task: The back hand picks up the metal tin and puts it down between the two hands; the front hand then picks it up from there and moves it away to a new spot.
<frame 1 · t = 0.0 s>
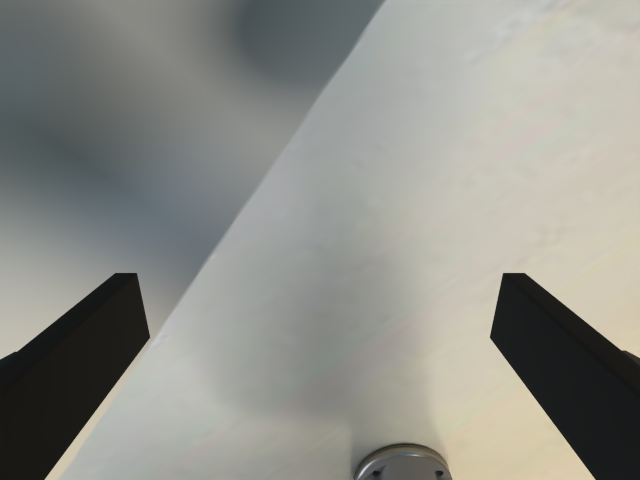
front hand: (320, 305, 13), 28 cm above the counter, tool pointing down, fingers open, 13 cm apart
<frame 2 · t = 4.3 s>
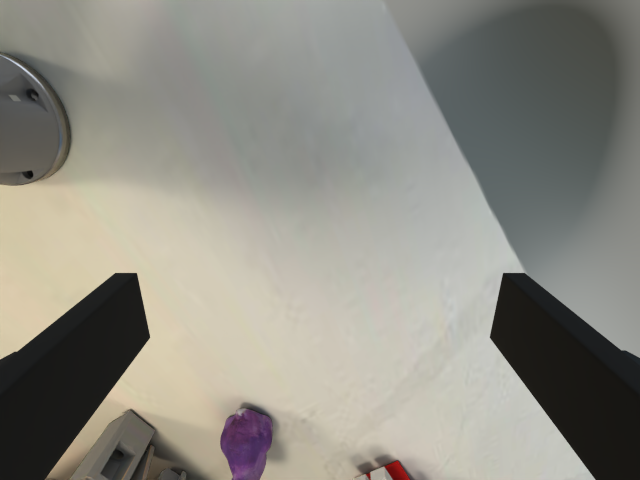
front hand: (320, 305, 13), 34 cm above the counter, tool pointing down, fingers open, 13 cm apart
figurine: (253, 427, 60), on the counter
when the back hand's fingers open (6 cm above the counter, at t = 9.9 s): tin drops 2 cm, on the counter.
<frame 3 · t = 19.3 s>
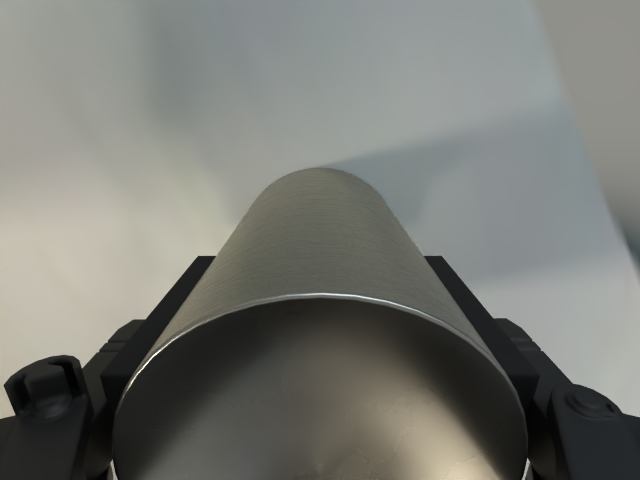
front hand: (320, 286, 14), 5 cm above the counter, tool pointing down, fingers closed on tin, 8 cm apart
tin: (319, 244, 18), on the counter, touching front hand
when the front hand's fingers open (6 cm above the counter, at t = 29.9 s): tin drops 2 cm, on the counter.
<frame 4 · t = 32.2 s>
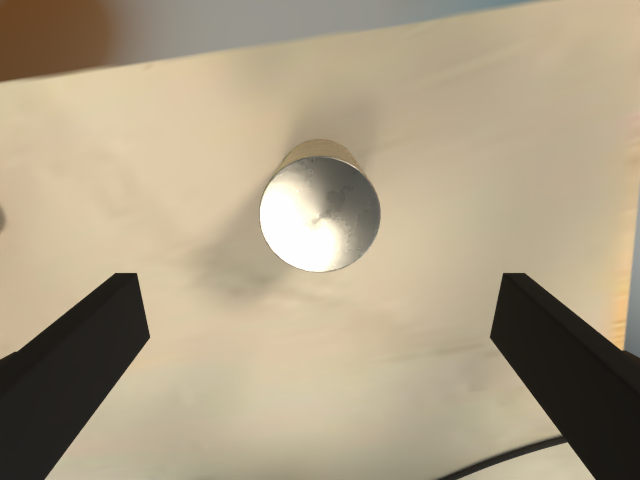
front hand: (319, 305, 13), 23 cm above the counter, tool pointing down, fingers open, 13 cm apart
tin: (319, 181, 34), on the counter
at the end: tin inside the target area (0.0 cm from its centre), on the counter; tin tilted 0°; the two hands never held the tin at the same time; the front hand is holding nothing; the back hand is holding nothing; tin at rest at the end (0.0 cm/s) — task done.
